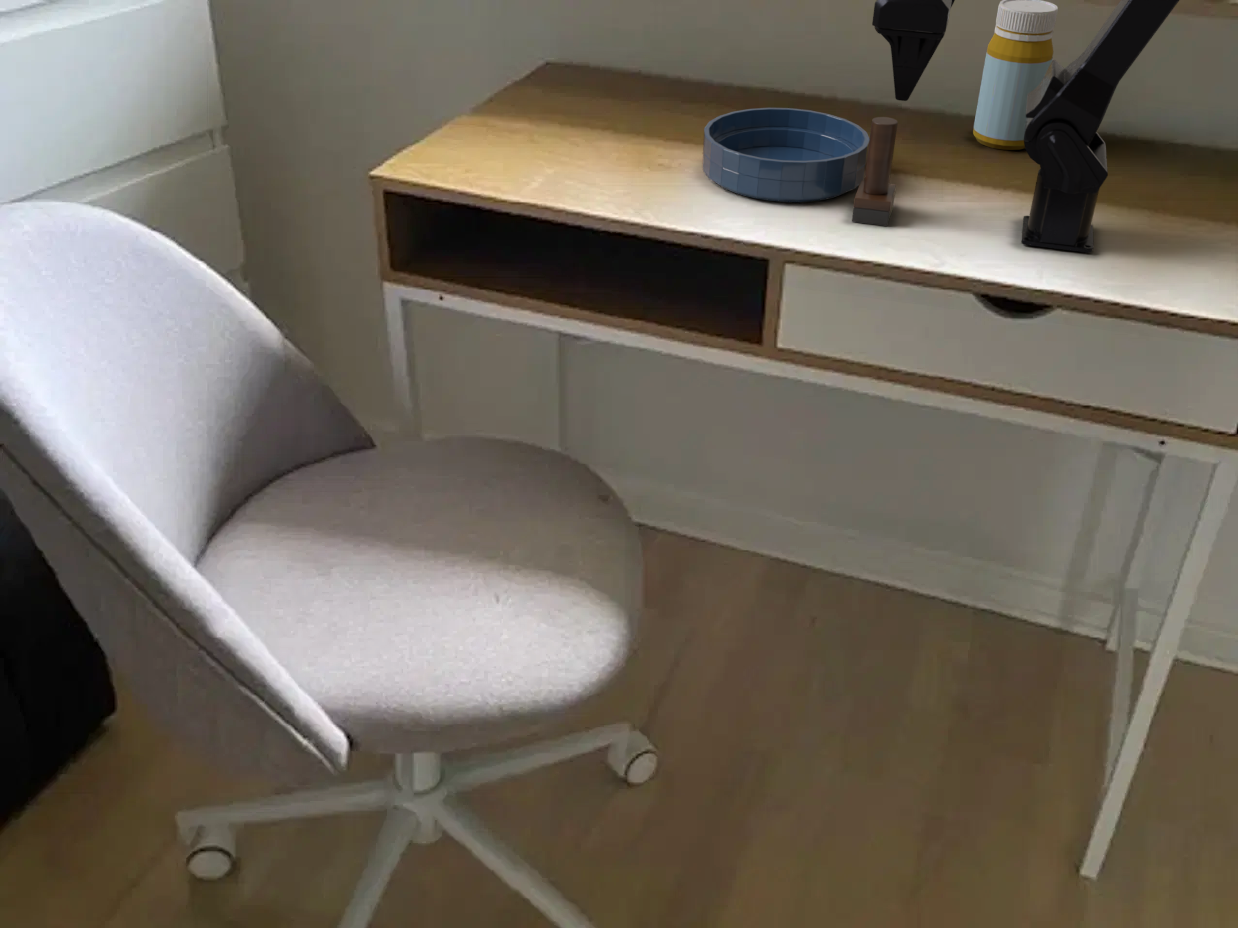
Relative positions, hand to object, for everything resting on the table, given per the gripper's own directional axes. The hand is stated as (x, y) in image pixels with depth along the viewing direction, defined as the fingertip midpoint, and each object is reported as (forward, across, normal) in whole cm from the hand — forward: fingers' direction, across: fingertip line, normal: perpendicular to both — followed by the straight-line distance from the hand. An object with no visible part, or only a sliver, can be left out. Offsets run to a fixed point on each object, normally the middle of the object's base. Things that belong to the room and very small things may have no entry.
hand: (906, 85), depth 121 cm
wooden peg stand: (+13, 0, -2) cm, 13 cm away
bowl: (+13, -8, -12) cm, 19 cm away
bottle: (+13, -27, +10) cm, 32 cm away
